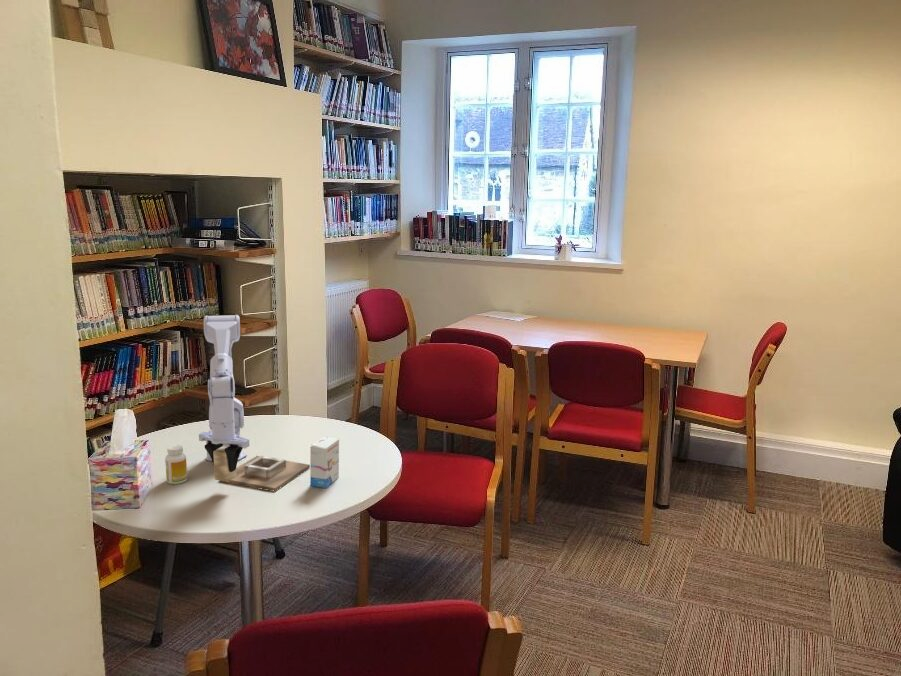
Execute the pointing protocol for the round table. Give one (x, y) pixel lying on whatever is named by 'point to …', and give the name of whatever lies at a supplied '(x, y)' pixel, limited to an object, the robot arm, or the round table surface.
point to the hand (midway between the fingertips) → (225, 469)
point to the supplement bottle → (176, 465)
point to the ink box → (324, 462)
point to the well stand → (267, 472)
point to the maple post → (222, 466)
